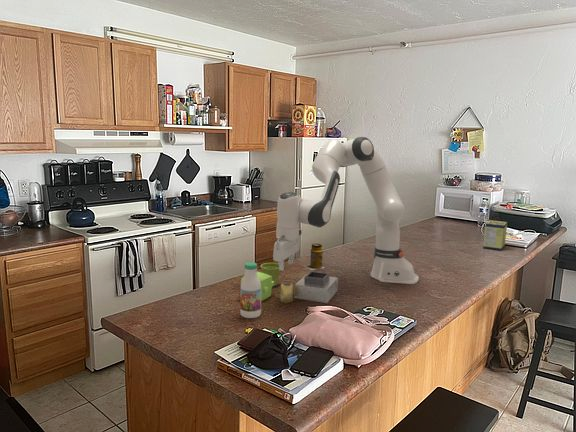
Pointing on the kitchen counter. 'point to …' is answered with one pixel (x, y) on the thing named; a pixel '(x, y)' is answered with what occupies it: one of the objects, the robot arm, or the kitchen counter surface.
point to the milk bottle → (250, 292)
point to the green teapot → (265, 285)
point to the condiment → (316, 257)
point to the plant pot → (271, 271)
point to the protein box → (495, 235)
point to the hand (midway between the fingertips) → (286, 266)
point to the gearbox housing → (316, 287)
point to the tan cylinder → (286, 292)
